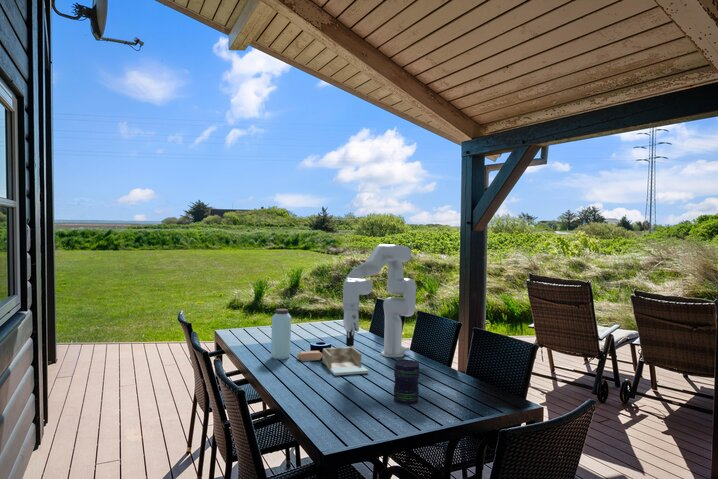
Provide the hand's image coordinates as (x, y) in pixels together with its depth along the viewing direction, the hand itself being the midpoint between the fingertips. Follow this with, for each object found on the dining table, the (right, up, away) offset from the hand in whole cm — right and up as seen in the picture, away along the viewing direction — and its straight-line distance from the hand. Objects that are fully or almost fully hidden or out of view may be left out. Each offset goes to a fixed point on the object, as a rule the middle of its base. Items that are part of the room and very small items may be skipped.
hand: (349, 345), depth 210 cm
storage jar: (+23, -14, -34) cm, 43 cm away
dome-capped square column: (-21, -13, +22) cm, 33 cm away
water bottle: (-37, -12, +25) cm, 46 cm away
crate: (-5, -13, +13) cm, 19 cm away
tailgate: (-2, -12, +6) cm, 14 cm away
